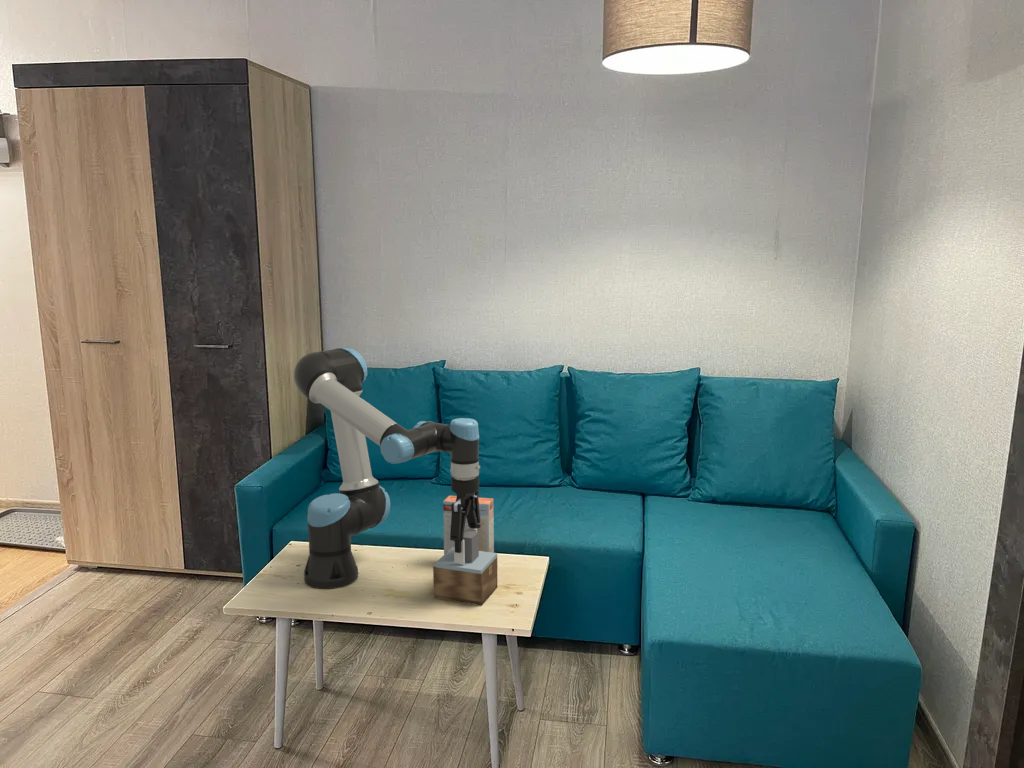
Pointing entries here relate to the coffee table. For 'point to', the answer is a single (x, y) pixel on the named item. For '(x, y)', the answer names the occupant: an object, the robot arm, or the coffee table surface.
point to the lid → (474, 567)
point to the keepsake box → (465, 584)
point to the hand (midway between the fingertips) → (465, 556)
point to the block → (471, 545)
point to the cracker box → (484, 531)
